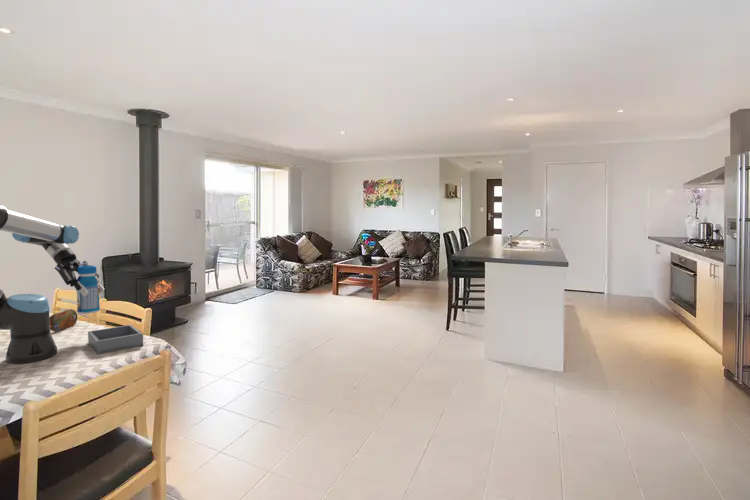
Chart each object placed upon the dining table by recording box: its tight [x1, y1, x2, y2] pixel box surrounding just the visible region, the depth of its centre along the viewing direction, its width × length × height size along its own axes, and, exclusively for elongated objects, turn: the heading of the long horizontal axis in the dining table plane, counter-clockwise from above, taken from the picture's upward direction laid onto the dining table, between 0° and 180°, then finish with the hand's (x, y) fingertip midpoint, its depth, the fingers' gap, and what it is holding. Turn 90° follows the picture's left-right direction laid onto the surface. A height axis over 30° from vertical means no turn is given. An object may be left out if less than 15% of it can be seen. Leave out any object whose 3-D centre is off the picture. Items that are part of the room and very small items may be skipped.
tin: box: [49, 308, 78, 332], centre depth 196 cm, size 15×3×8 cm, turn 179°
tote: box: [87, 324, 144, 355], centre depth 175 cm, size 18×16×5 cm
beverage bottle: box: [75, 264, 101, 315], centre depth 182 cm, size 8×8×20 cm
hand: (94, 292), depth 181 cm, fingers closed on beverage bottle, 7 cm apart
